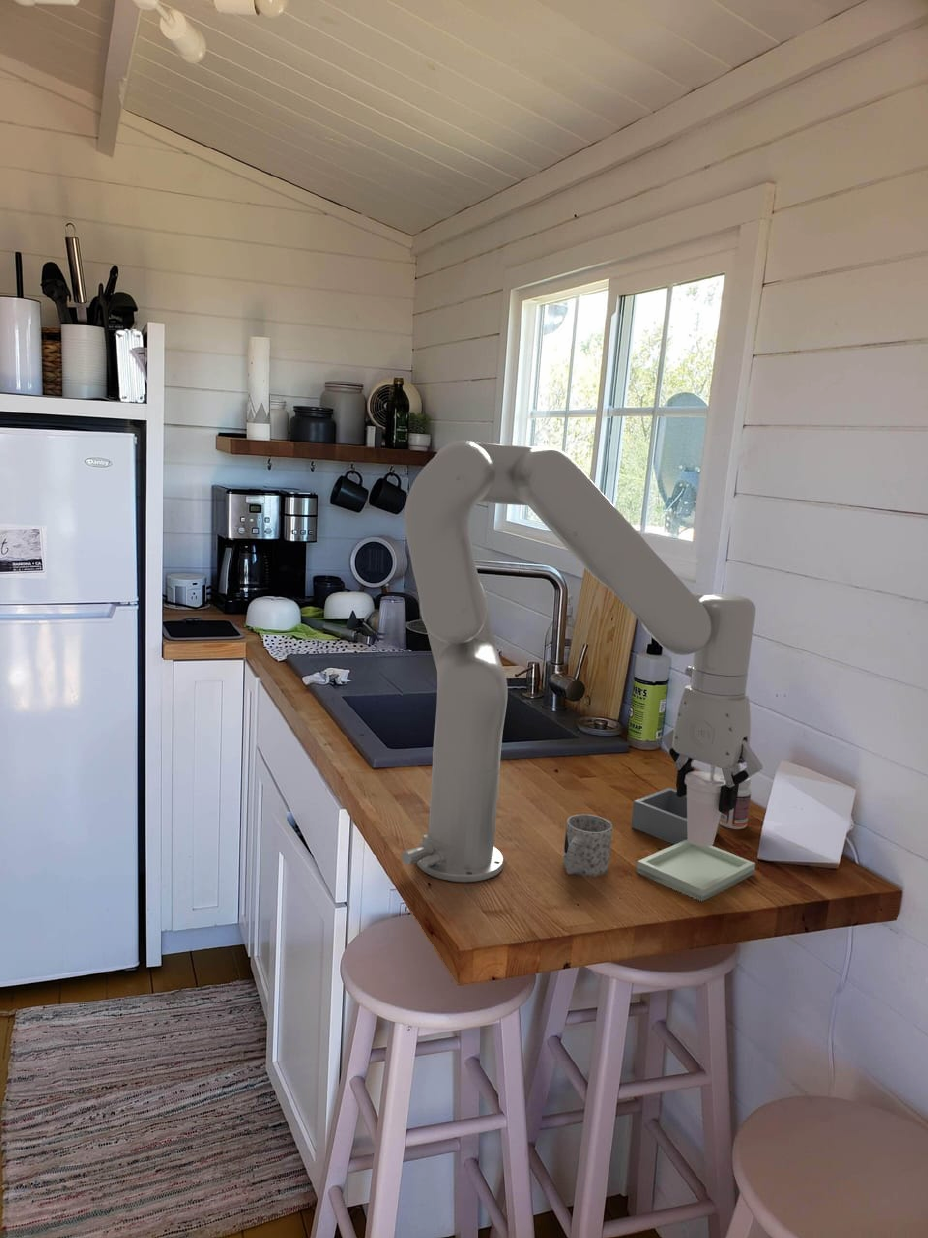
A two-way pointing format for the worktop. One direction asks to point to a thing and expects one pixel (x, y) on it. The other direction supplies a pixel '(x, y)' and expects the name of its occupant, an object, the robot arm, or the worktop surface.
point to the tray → (695, 869)
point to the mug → (587, 845)
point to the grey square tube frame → (662, 816)
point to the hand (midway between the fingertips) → (704, 801)
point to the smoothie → (703, 806)
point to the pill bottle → (738, 808)
